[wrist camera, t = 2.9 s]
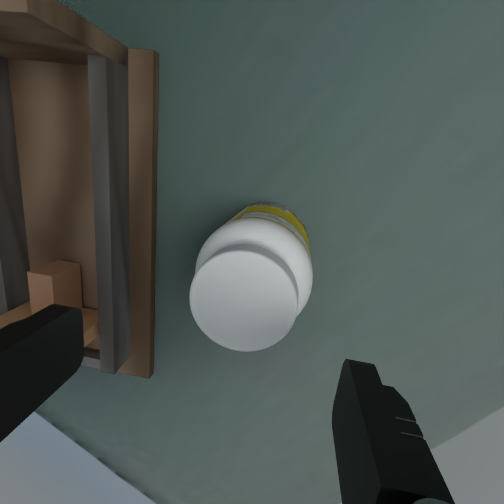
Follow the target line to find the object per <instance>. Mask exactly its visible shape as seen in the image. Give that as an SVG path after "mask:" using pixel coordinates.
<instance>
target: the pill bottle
mask: <svg viewBox="0 0 504 504" xmlns="http://www.w3.org/2000/svg"><path fill="white" fill-rule="evenodd" d="M312 282H313V271H312V264H311V256H310V248H309V241H308V235H307V232H306V229H305V227H304V225H303V223H302V221H301V220H300V218H299V217H298V216H297V215H296V214H295V213H294V212H293V211H291V210H290V209H288V208H287V207H285V206H283V205H280V204H276V203H270V202H263V203H257V204H253V205H250V206H248V207H246V208H245V209H243V210H241V211H240V212H239V213H237V214H236V215H235V216H234V217H232V218H231V219H230V220H229V221H227V222H226V223H225V224H224V225H222V226H221V227H220V228H218V229H217V230H216V231H215V232H213V233H212V234H211V236H210V237H209V238H208V239H207V240H206V242H205V243H204V245H203V246H202V248H201V250H200V252H199V255H198V258H197V262H196V267H195V276H194V278H193V281H192V284H191V287H190V294H189V301H190V308H191V311H192V314H193V317H194V319H195V321H196V323H197V325H198V326H199V328H200V329H201V330H202V331H203V332H204V334H206V335H207V336H208V337H209V338H210V339H211V340H213V341H214V342H216V343H217V344H219V345H221V346H223V347H226V348H229V349H232V350H236V351H257V350H262V349H265V348H268V347H270V346H272V345H274V344H276V343H277V342H279V341H280V340H281V339H282V338H283V337H284V336H285V335H286V334H287V333H288V332H289V330H290V329H291V327H292V325H293V323H294V321H295V318H296V317H297V316H298V315H299V313H300V312H301V311H302V310H303V308H304V307H305V305H306V303H307V301H308V299H309V296H310V293H311V289H312Z"/></svg>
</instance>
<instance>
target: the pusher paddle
mask: <svg viewBox="0 0 504 504" xmlns="http://www.w3.org/2000/svg"><path fill="white" fill-rule="evenodd" d="M27 276H28V285H29V294H30V301H28V302H26V303H24V304H22V305H20V306H18V307H16V308H14V309H12V310H10V311H8V312H6V313H4V314H2V315H0V329H1V328H3V327H5V326H6V325H8V324H10V323H13V322H16V321H19V320H22V319H25V318H27V317H29V316H31V315H33V314H34V313H36V312H38V311H40V310H42V309H43V308H45V307H47V306H49V305H51V304H59V305H64V306H70V307H75V308H79V309H80V310H81V311H82V314H83V331H84V347H85V346H87V345H88V344H89V343H90V342H91V341H93V340H94V339H95V338H96V337H97V336H98V335H99V322H98V310H94V309H89V308H83V307H82V289H81V272H80V263H74V262H68V261H62V260H56V261H54V262H51V263H49V264H46V265H43V266H41V267H38V268H36V269H33V270H31V271H28V272H27Z"/></svg>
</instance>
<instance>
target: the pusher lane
mask: <svg viewBox="0 0 504 504" xmlns="http://www.w3.org/2000/svg"><path fill="white" fill-rule="evenodd" d="M158 88H159V54H158V53H157V52H156V51H154V50H146V49H132V48H127V47H126V46H124V45H123V44H121V43H120V42H118V41H117V40H115V39H114V38H112V37H111V36H109V35H108V34H106V33H105V32H103V31H102V30H100V29H99V28H97V27H96V26H94V25H93V24H91V23H90V22H88V21H87V20H86V19H84V18H83V17H81V16H80V15H78V14H77V13H75V12H74V11H72V10H71V9H69V8H68V7H66V6H65V5H63V4H62V3H60V2H59V1H57V0H0V315H2V314H4V313H6V312H8V311H10V310H12V309H14V308H16V307H18V306H20V305H22V304H24V303H26V302H28V301H30V294H29V285H28V276H27V272H28V271H31V270H33V269H36V268H38V267H41V266H43V265H46V264H49V263H51V262H54V261H56V260H62V261H68V262H74V263H80V272H81V289H82V307H83V308H89V309H94V310H98V322H99V335H98V336H97V337H96V338H95V339H94V340H93V341H91V342H90V343H89V344H88V345H87V346H85V347H84V357H83V361H82V363H81V366H86V367H91V368H95V369H100V370H101V372H105V373H110V374H115V373H116V372H119V373H124V374H129V375H134V376H139V377H143V378H148V379H149V378H150V377H151V376H152V374H153V366H154V310H155V255H156V199H157V143H158Z"/></svg>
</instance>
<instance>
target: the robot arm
mask: <svg viewBox="0 0 504 504" xmlns="http://www.w3.org/2000/svg"><path fill="white" fill-rule="evenodd" d="M83 357H84V331H83V314H82V311H81V310H80V309H79V308H75V307H70V306H64V305H59V304H51V305H49V306H47V307H45V308H43V309H42V310H40V311H38V312H36V313H34V314H33V315H31V316H29V317H27V318H25V319H22V320H19V321H16V322H13V323H10V324H8V325H6V326H5V327H3V328H1V329H0V442H1V441H2V440H3V439H4V438H6V437H7V436H8V435H9V434H10V433H11V432H12V431H13V430H14V429H15V428H16V427H17V426H18V425H20V424H21V422H23V421H24V420H25V419H26V418H27V417H28V416H29V415H30V414H31V413H32V412H34V411H35V410H36V409H37V408H38V407H39V406H40V405H41V404H42V403H43V402H44V401H45V400H47V399H48V398H49V397H50V396H51V395H52V394H53V393H54V392H55V391H56V390H57V389H58V388H59V387H61V386H62V385H63V384H64V383H65V382H66V381H67V380H68V379H69V378H70V377H71V376H72V375H73V374H75V372H76V371H77V370H78V369H79V367H80V365H81V363H82V361H83ZM332 429H333V437H334V445H335V452H336V460H337V467H338V475H339V482H340V490H341V497H342V504H455V503H454V501H453V499H452V496H451V494H450V492H449V490H448V488H447V486H446V484H445V481H444V479H443V477H442V475H441V473H440V471H439V468H438V466H437V464H436V462H435V460H434V458H433V456H432V453H431V451H430V449H429V447H428V445H427V443H426V440H424V439H423V434H422V432H421V430H420V428H419V425H418V424H416V419H415V417H414V415H413V413H412V410H411V408H410V406H409V404H408V403H407V401H406V400H405V399H404V398H403V397H402V396H401V395H400V394H399V393H398V392H397V391H396V390H395V388H394V387H390V386H385V385H382V382H381V380H380V377H379V374H378V372H377V369H376V367H375V365H374V364H371V363H366V362H360V361H355V360H350V359H345V361H344V363H343V366H342V370H341V375H340V379H339V383H338V387H337V391H336V395H335V400H334V404H333V411H332Z"/></svg>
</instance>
